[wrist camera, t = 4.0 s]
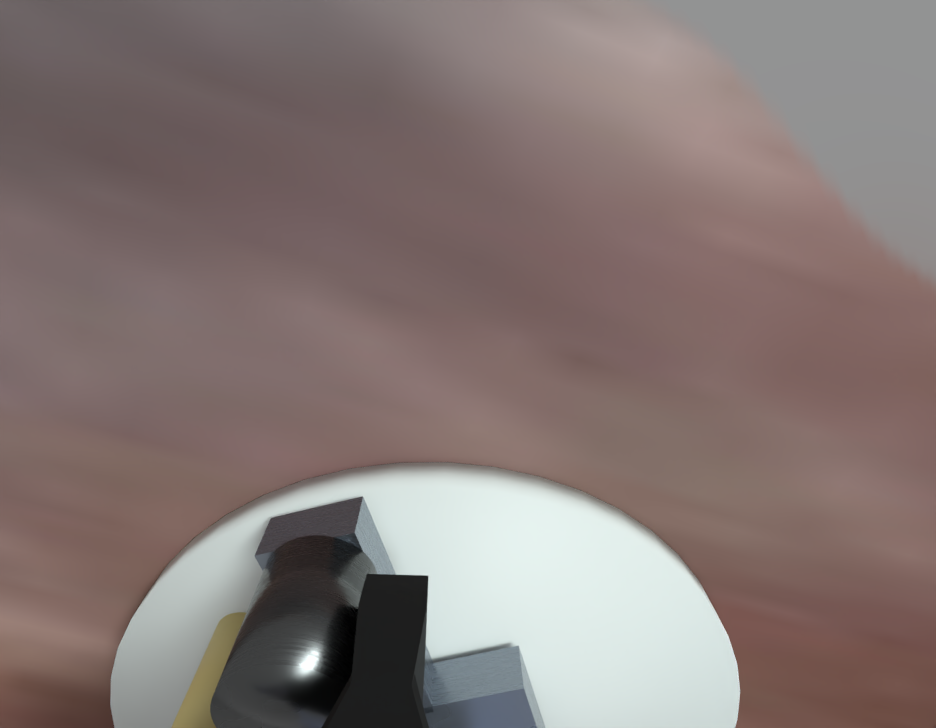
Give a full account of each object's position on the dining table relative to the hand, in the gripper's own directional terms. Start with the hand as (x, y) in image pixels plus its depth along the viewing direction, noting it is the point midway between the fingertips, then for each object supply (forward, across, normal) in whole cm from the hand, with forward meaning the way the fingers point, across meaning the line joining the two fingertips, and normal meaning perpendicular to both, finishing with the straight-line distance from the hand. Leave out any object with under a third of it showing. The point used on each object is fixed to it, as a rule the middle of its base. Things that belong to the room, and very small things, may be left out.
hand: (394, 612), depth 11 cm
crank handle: (+2, 0, +5) cm, 6 cm away
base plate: (+4, -1, +8) cm, 9 cm away
